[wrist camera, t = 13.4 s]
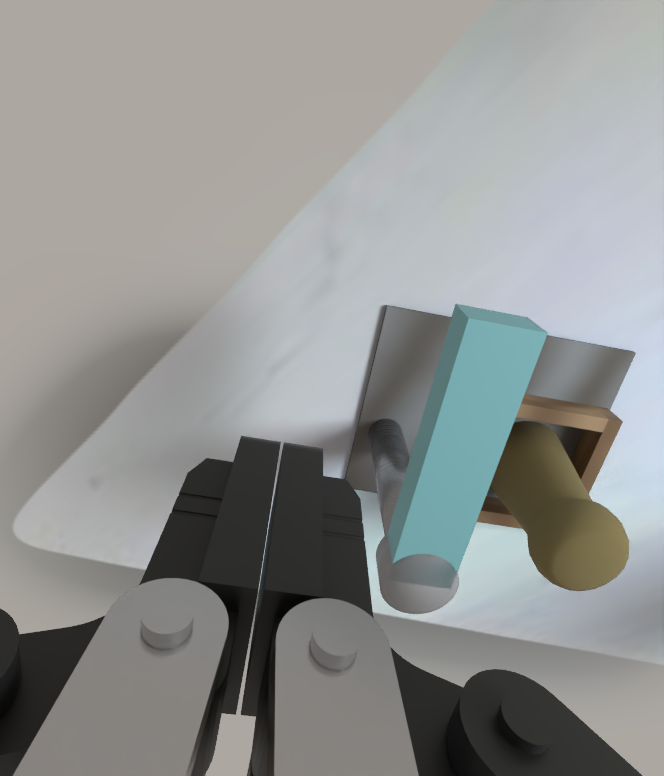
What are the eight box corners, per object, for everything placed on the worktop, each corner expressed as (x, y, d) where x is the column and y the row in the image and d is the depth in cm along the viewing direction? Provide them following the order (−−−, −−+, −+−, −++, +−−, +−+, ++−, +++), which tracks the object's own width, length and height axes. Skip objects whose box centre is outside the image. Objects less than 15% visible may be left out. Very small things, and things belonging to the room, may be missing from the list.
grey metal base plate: (633, 351, 35) (653, 363, 33) (557, 518, 40) (570, 538, 38) (386, 305, 33) (391, 315, 31) (343, 485, 39) (344, 503, 37)
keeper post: (405, 421, 36) (440, 531, 26) (397, 450, 37) (427, 568, 26) (372, 416, 36) (393, 524, 25) (365, 445, 37) (382, 562, 26)
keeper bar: (437, 586, 26) (446, 618, 24) (368, 576, 26) (372, 608, 24) (534, 318, 21) (555, 334, 19) (448, 302, 20) (460, 316, 18)
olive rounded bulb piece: (568, 477, 38) (656, 590, 28) (489, 502, 39) (547, 621, 29) (552, 409, 36) (641, 505, 26) (468, 437, 37) (523, 541, 27)
